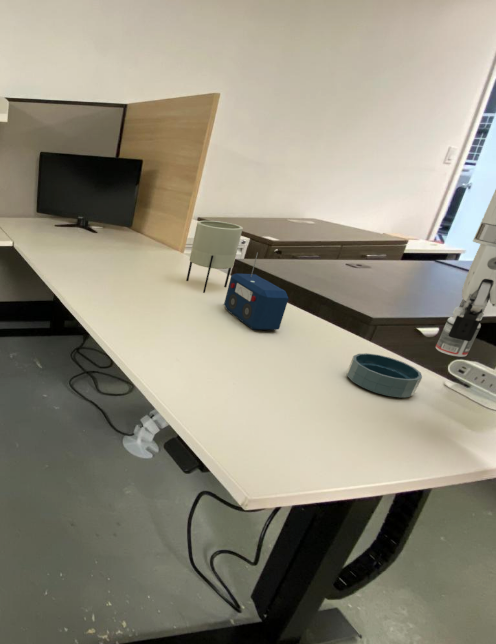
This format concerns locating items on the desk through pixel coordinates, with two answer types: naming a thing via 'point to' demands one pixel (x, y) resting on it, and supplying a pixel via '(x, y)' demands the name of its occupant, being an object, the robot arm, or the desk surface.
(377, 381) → the bowl
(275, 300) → the radio
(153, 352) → the desk surface
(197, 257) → the planter
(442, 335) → the pill bottle
